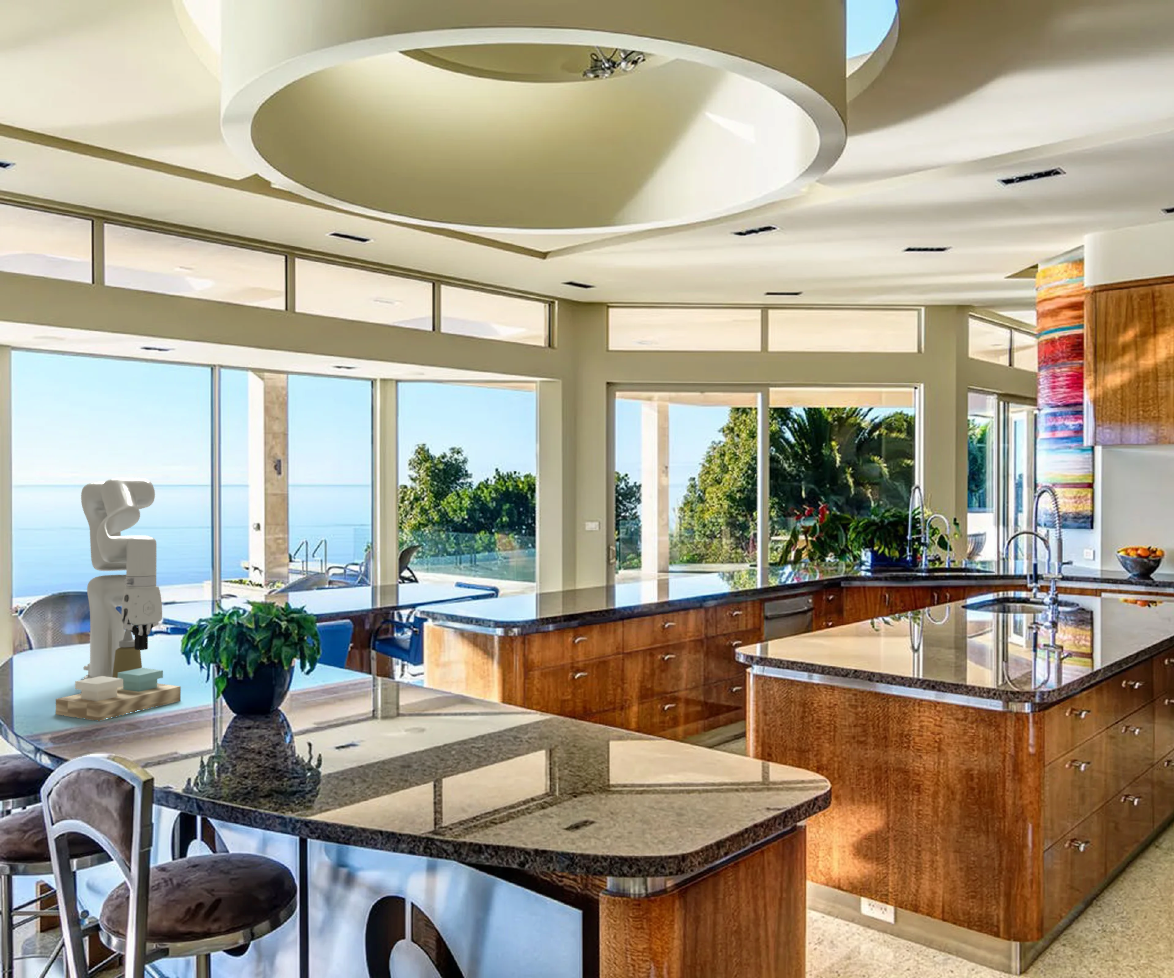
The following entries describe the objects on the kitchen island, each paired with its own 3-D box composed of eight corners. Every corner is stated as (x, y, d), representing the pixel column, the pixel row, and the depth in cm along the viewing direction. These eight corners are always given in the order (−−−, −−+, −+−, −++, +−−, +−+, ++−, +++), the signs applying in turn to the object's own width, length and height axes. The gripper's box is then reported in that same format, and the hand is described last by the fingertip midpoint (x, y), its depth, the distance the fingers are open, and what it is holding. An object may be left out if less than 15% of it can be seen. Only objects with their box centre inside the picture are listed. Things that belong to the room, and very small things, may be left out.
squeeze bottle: (134, 693, 280) (135, 630, 280) (106, 692, 281) (107, 629, 280) (147, 687, 289) (148, 626, 288) (120, 686, 289) (121, 625, 289)
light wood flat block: (99, 721, 248) (99, 705, 248) (55, 714, 255) (55, 698, 255) (180, 700, 272) (180, 686, 272) (138, 694, 279) (138, 680, 279)
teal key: (138, 693, 264) (138, 675, 264) (117, 690, 267) (117, 672, 267) (162, 688, 271) (162, 670, 271) (141, 685, 275) (142, 667, 275)
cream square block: (96, 703, 252) (96, 684, 252) (75, 700, 256) (75, 681, 255) (123, 697, 259) (123, 678, 259) (101, 694, 263) (101, 675, 263)
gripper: (128, 585, 261) (128, 654, 260) (173, 580, 274) (173, 646, 274) (108, 584, 264) (108, 652, 264) (153, 579, 277) (153, 644, 277)
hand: (141, 649), depth 269 cm, fingers closed
